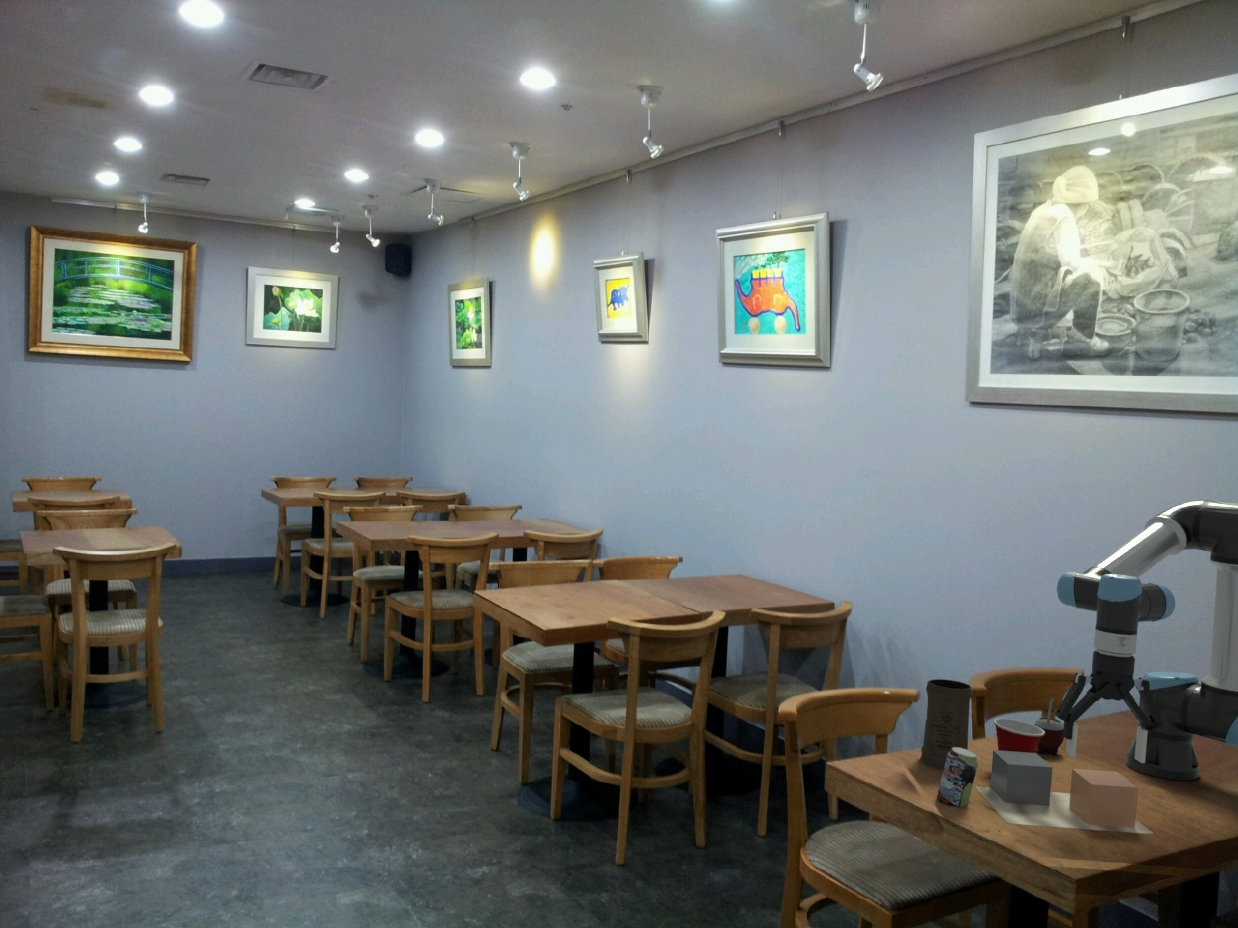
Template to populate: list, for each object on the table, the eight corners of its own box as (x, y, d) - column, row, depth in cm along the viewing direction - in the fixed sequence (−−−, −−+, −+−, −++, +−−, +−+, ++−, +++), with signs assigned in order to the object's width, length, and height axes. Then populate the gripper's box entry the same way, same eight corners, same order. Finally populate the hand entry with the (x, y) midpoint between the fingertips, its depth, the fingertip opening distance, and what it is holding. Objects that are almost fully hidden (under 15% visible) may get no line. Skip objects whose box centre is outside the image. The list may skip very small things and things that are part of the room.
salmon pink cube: (1113, 810, 204) (1116, 771, 204) (1134, 827, 195) (1138, 787, 195) (1069, 807, 204) (1072, 768, 204) (1088, 824, 195) (1091, 784, 195)
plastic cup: (1046, 788, 219) (1050, 734, 218) (994, 781, 221) (998, 728, 220) (1035, 772, 229) (1039, 720, 229) (986, 766, 231) (990, 715, 231)
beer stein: (972, 779, 221) (978, 689, 222) (922, 773, 223) (928, 684, 224) (961, 762, 236) (966, 677, 237) (914, 756, 238) (919, 672, 239)
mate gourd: (1047, 746, 249) (1052, 687, 249) (1072, 757, 242) (1076, 696, 242) (1024, 748, 247) (1028, 688, 246) (1048, 759, 239) (1052, 697, 239)
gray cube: (1032, 789, 213) (1035, 752, 213) (1049, 805, 204) (1052, 767, 204) (990, 786, 214) (993, 749, 213) (1005, 802, 205) (1008, 763, 204)
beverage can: (932, 800, 207) (937, 743, 207) (968, 802, 207) (972, 745, 206) (941, 811, 201) (946, 753, 200) (978, 814, 200) (982, 755, 200)
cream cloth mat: (1106, 801, 212) (1107, 795, 212) (1153, 839, 192) (1154, 833, 192) (974, 791, 213) (974, 786, 213) (1007, 829, 193) (1007, 823, 193)
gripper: (1058, 651, 195) (1049, 758, 196) (1187, 661, 194) (1178, 769, 195) (1043, 643, 203) (1034, 746, 203) (1168, 653, 202) (1159, 756, 202)
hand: (1105, 758), depth 199 cm, fingers open, 13 cm apart
